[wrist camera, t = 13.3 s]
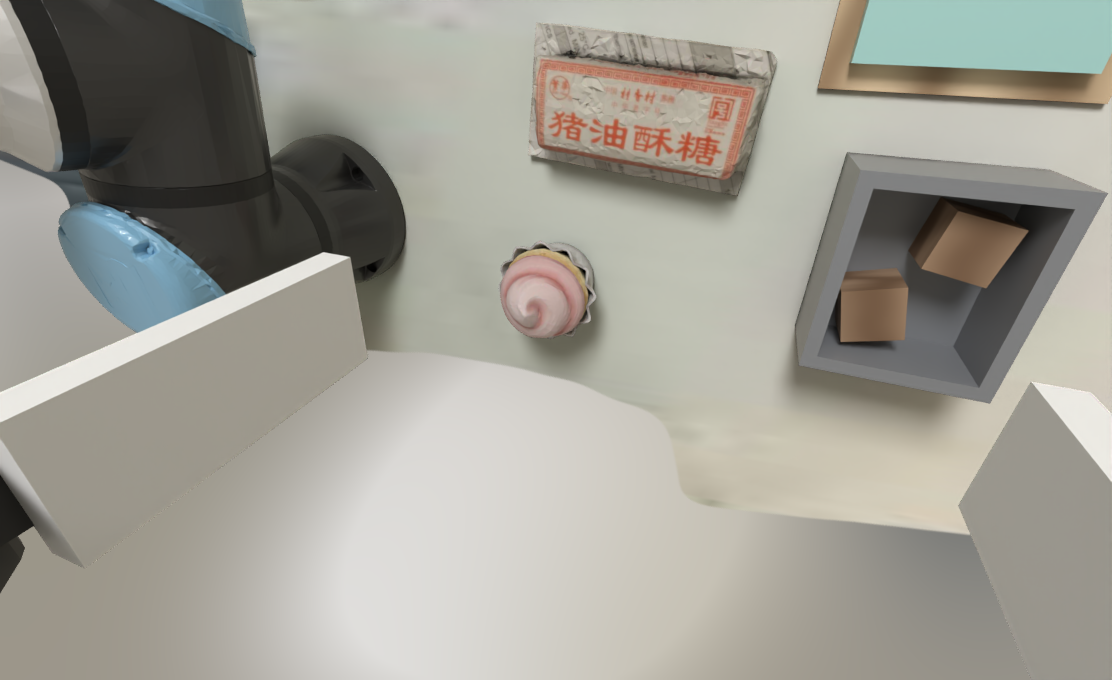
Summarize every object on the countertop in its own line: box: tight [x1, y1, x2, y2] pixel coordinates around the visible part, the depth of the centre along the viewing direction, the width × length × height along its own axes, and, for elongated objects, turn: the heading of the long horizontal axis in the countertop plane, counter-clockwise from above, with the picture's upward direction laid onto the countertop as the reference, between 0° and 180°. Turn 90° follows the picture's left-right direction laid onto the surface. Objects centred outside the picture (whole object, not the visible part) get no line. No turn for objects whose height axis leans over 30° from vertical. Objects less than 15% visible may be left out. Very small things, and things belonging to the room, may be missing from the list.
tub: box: [795, 152, 1108, 403], centre depth 36 cm, size 12×14×7 cm
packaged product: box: [528, 23, 777, 196], centre depth 39 cm, size 18×5×10 cm
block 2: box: [908, 197, 1028, 288], centre depth 34 cm, size 4×4×4 cm
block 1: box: [835, 268, 908, 342], centre depth 38 cm, size 4×4×4 cm
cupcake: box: [499, 241, 597, 339], centre depth 45 cm, size 9×9×10 cm
